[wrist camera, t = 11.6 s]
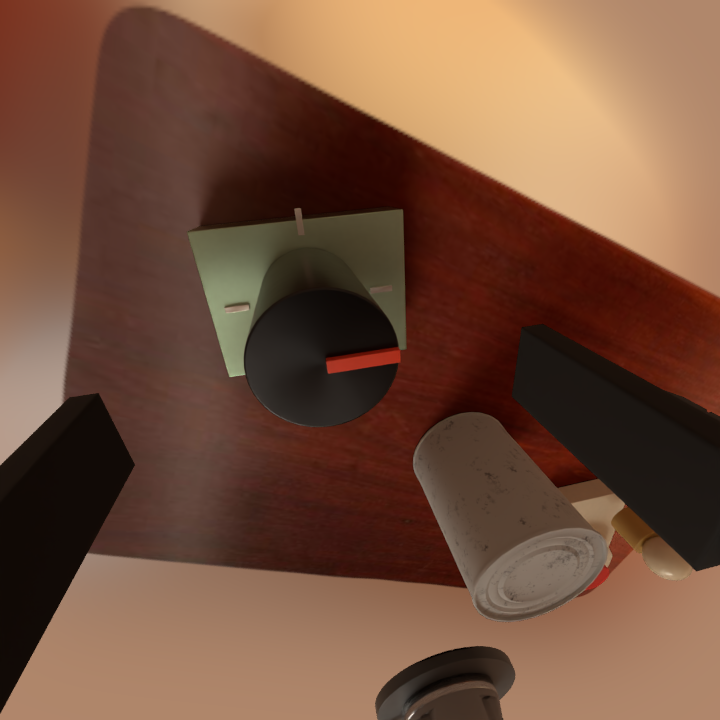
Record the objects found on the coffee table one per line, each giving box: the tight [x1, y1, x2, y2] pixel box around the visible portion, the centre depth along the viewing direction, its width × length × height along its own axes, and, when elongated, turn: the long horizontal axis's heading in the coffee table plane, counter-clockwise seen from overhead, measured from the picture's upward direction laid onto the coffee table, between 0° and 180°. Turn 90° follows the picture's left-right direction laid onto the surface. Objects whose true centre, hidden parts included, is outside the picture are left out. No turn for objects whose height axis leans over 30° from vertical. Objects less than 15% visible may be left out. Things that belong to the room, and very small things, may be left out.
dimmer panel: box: [187, 207, 406, 377], centre depth 23 cm, size 12×10×3 cm
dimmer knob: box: [244, 248, 401, 427], centre depth 17 cm, size 6×6×9 cm
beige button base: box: [558, 479, 625, 567], centre depth 40 cm, size 10×12×4 cm
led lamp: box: [611, 507, 693, 581], centre depth 34 cm, size 4×4×6 cm
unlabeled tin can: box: [413, 412, 608, 622], centre depth 28 cm, size 10×10×12 cm
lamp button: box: [585, 565, 610, 590], centre depth 39 cm, size 4×4×2 cm
